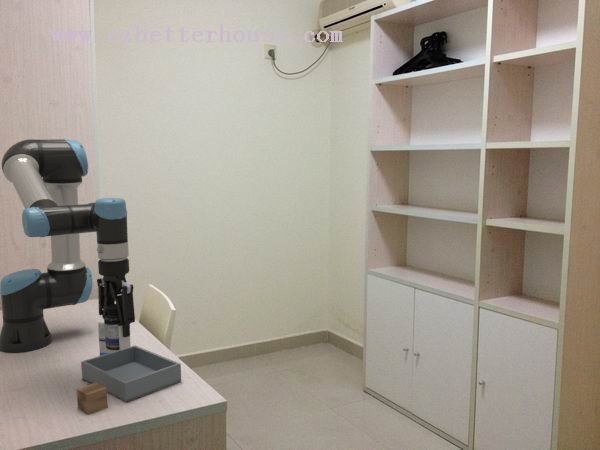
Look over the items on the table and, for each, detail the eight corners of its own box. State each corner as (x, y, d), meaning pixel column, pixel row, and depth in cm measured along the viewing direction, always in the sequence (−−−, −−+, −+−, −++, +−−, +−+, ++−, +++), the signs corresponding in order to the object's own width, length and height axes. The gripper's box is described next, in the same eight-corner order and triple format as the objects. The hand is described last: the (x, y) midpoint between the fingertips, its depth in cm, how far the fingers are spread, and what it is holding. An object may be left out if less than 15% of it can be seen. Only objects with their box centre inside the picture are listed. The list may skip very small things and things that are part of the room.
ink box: (114, 362, 165) (112, 323, 163) (99, 361, 166) (97, 322, 164) (129, 351, 173) (127, 314, 171) (114, 350, 174) (112, 313, 172)
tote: (82, 379, 153) (81, 361, 152) (135, 361, 165) (135, 345, 164) (126, 402, 138) (125, 383, 138) (181, 381, 151) (180, 363, 150)
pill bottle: (121, 341, 152) (119, 301, 150) (134, 346, 148) (132, 305, 147) (100, 347, 147) (98, 306, 146) (114, 352, 143) (111, 310, 142)
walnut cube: (77, 408, 136) (76, 388, 135) (97, 401, 140) (96, 382, 139) (88, 415, 133) (87, 394, 132) (107, 407, 136) (106, 387, 136)
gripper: (81, 256, 148) (86, 341, 151) (120, 265, 135) (125, 358, 139) (107, 252, 153) (111, 334, 157) (147, 261, 141) (151, 349, 144)
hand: (117, 345), depth 148 cm, fingers closed on pill bottle, 6 cm apart
